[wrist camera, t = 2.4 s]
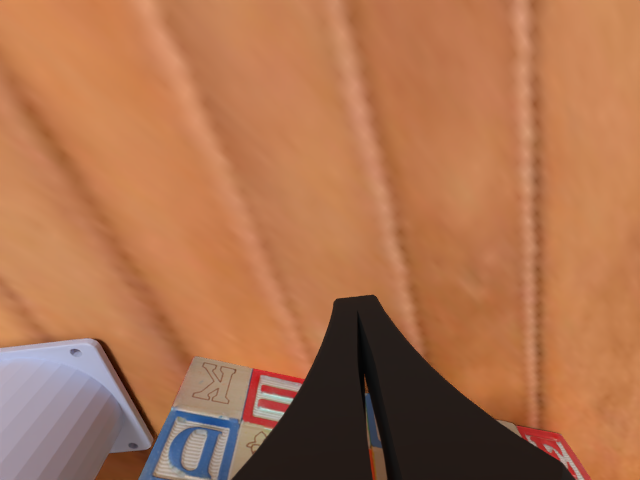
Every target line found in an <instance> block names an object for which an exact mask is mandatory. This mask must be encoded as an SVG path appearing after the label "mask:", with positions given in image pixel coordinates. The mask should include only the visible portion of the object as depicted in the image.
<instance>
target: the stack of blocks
mask: <svg viewBox="0 0 640 480" xmlns="http://www.w3.org/2000/svg"><path fill="white" fill-rule="evenodd" d="M304 380H305V379H300V378H296V377H291V376H286V375H281V374H277V373H272V372H267V371H262V370H258V369H252V368H249V367H245V366H241V365H236V364H231V363H227V362H222V361H217V360H212V359H207V358H203V357H197V356H195V357H194V358H193V359H192V362H191V364H190V366H189V368H188V371H187V373H186V375H185V378H184V380H183V382H182V384H181V386H180V388H179V391H178V393H177V395H176V398H175V400H174V402H173V405H172V407H171V412H170V413H169V415H168V417H167V419H166V421H165V423H164V425H163V427H162V430H161V432H160V434H159V436H158V438H157V440H156V442H155V445H154V447H153V449H152V451H151V453H150V455H149V458H148V460H147V462H146V464H145V466H144V468H143V470H142V473H141V475H140V477H139V479H138V480H231V479H232V478H233V477H234V476H235V474H236V473H237V472H238V471H239V470H240V469H241V468H242V466H243V465H244V464H245V463H246V462H247V461H248V460H249V459H250V457H251V456H252V455H253V454H254V453H255V451H256V450H257V449H258V448H259V446H260V445H261V444H262V443H263V441H264V440H265V439H266V437H267V436H268V435H269V433H270V432H271V431H272V429H273V428H274V427H275V426H276V424H277V423H278V421H279V420H280V419H281V417H282V416H283V414H284V413H285V411H286V410H287V408H288V407H289V405H290V404H291V402H292V400H293V399H294V397H295V396H296V394H297V392H298V391H299V389H300V387H301V386H302V384H303V382H304ZM365 403H366V426H367V440H368V447H369V455H370V462H371V470H372V477H373V480H387V473H386V467H385V461H384V454H383V449H382V445H381V440H380V435H379V431H378V427H377V423H376V419H375V415H374V411H373V407H372V403H371V399H370V394H369V393H365ZM495 420H496V419H495ZM497 421H498V422H500V423H501V424H503V425H504V426H505V427H507V428H508V429H510V430H511V431H513V432H514V433H515V434H517V435H518V436H520V437H522V438H523V439H525V440H527V441H528V442H530V443H531V444H533V445H535V446H536V447H538V448H540V449H541V450H543V451H544V452H546V453H548V454H549V455H551V456H553V457H554V458H556V459H557V460H559V461H561V462H562V463H563V464H564V465H565V466H566V468H567V469H568V470H569V472H570V473H571V474H572V475H573V477H574V478H575V479H576V480H591V478H590V476H589V475H588V474H587V472H586V471H585V469H584V467H583V466H582V464H581V463H580V461H579V460H578V458H577V457H576V455H575V454H574V452H573V451H572V449H571V448H570V446H569V445H568V444H567V442H566V441H565V439H564V438H563V436H562V435H561V434H558V433H553V432H548V431H543V430H537V429H532V428H528V427H522V426H515V425H514V424H513V423H510V422H506V421H501V420H497Z"/></svg>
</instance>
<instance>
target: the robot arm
mask: <svg viewBox="0 0 640 480" xmlns="http://www.w3.org/2000/svg"><path fill="white" fill-rule="evenodd" d="M364 374H365V378H366V382H367V386H368V390H369V394H370V399H371V403H372V407H373V411H374V415H375V419H376V423H377V427H378V431H379V435H380V440H381V445H382V449H383V454H384V461H385V467H386V473H387V480H576V479H575V478H574V477H573V475H572V474H571V473H570V472H569V470H568V469H567V468H566V466H565V465H564V464H563V463H562V462H561V461H559V460H557V459H556V458H554V457H553V456H551V455H549V454H548V453H546V452H544V451H543V450H541V449H540V448H538V447H536V446H535V445H533V444H531V443H530V442H528V441H527V440H525V439H523V438H522V437H520V436H518V435H517V434H515V433H514V432H513V431H511V430H510V429H508V428H507V427H505V426H504V425H503V424H501V423H500V422H498V421H497V420H495V419H494V418H492V417H491V416H490V415H489V414H487V413H486V412H485V411H483V410H482V409H481V408H480V407H478V406H477V405H476V404H474V403H473V402H472V401H471V400H469V399H468V398H467V397H465V396H464V395H463V394H462V393H460V392H459V391H458V390H457V389H456V388H455V387H453V386H452V385H451V384H450V383H449V382H448V381H446V380H445V379H444V378H443V377H442V376H441V375H440V374H439V373H438V372H437V371H436V370H435V369H434V368H432V367H431V366H430V365H429V364H428V363H427V362H426V360H425V359H424V358H423V357H422V356H421V355H420V354H419V353H418V352H417V351H416V350H415V349H414V348H413V347H412V345H411V344H410V343H409V342H408V341H407V340H406V338H405V337H404V336H403V335H402V333H401V332H400V331H399V330H398V328H397V327H396V326H395V325H394V323H393V322H392V321H391V319H390V318H389V316H388V315H387V314H386V312H385V311H384V309H383V307H382V306H381V304H380V302H379V301H378V299H377V297H376V296H374V295H366V296H358V297H349V298H340V299H336V300H335V301H334V304H333V311H332V315H331V319H330V322H329V325H328V328H327V331H326V334H325V337H324V339H323V342H322V345H321V347H320V349H319V352H318V354H317V356H316V358H315V360H314V363H313V365H312V367H311V369H310V371H309V373H308V375H307V377H306V378H305V380H304V382H303V384H302V386H301V387H300V389H299V391H298V392H297V394H296V396H295V397H294V399H293V400H292V402H291V404H290V405H289V407H288V408H287V410H286V411H285V413H284V414H283V416H282V417H281V419H280V420H279V421H278V423H277V424H276V426H275V427H274V428H273V429H272V431H271V432H270V433H269V435H268V436H267V437H266V439H265V440H264V441H263V443H262V444H261V445H260V446H259V448H258V449H257V450H256V451H255V453H254V454H253V455H252V456H251V457H250V459H249V460H248V461H247V462H246V463H245V464H244V465H243V466H242V468H241V469H240V470H239V471H238V472H237V473H236V474H235V476H234V477H233V478H232V479H231V480H373V477H372V470H371V462H370V455H369V447H368V440H367V426H366V403H365V381H364ZM152 443H153V437H152V435H151V433H150V432H149V430H148V428H147V426H146V425H145V423H144V421H143V419H142V417H141V416H140V414H139V412H138V410H137V409H136V407H135V405H134V403H133V402H132V400H131V398H130V396H129V394H128V393H127V391H126V389H125V387H124V386H123V384H122V382H121V380H120V378H119V377H118V375H117V373H116V371H115V370H114V368H113V366H112V364H111V362H110V361H109V359H108V357H107V355H106V354H105V352H104V350H103V348H102V346H101V345H100V344H99V342H97V341H96V340H94V339H88V338H85V339H76V340H68V341H59V342H50V343H41V344H32V345H24V346H15V347H6V348H0V480H95V478H96V476H97V474H98V472H99V471H100V469H101V467H102V465H103V463H104V461H105V460H106V458H107V456H108V454H109V453H117V452H127V451H138V450H146V449H149V448H150V447H151V445H152Z"/></svg>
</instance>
